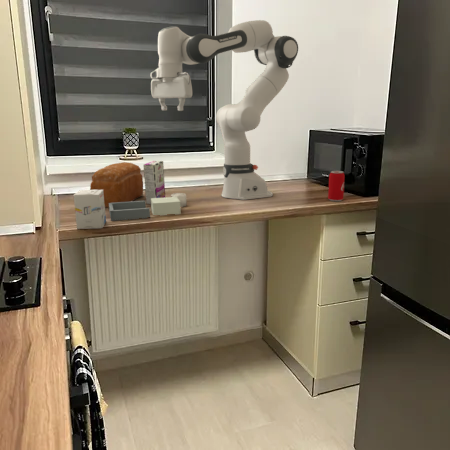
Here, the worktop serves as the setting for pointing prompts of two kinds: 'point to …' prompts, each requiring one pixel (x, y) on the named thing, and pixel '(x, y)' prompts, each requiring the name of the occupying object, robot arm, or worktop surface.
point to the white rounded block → (180, 198)
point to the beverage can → (336, 186)
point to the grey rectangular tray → (128, 210)
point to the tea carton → (165, 206)
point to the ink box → (89, 209)
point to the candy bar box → (154, 180)
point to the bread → (118, 182)
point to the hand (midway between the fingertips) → (172, 110)
